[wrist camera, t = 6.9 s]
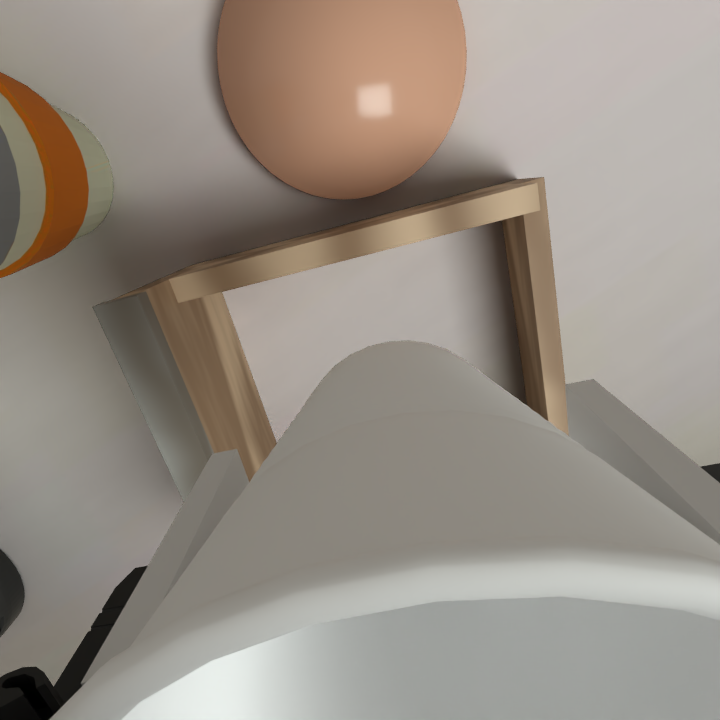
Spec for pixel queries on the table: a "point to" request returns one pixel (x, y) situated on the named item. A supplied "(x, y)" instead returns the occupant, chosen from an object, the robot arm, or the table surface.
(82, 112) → the table surface
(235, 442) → the frame
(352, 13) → the saucer
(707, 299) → the table surface
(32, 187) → the reusable coffee cup
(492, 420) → the cup
